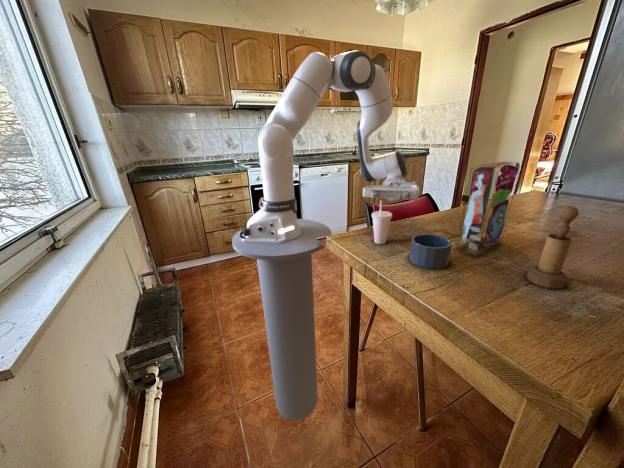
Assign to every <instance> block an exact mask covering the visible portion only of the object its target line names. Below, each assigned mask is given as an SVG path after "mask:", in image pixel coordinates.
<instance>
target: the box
mask: <svg viewBox="0 0 624 468" xmlns="http://www.w3.org/2000/svg"><path fill="white" fill-rule="evenodd" d="M496 168H497V169H498V171H496V170H497V169H496ZM520 168H521V164H520V162H518V161H514V164H513V162H511V161H497V162H494V163H493V162H491V163H489V164H487V163H485V164H483V165H482V164H481V165H478V166H475V167H473V168H472V167H471V169H470V171H472V170H473V171H472V173H470V175H469V178H471V180H469V182H468V185H467V189H466V194H465V200H464V203H466V202H467V206H466V204H464V205H463V207H464V208H463V209H465V207H466V212H465V210H462V211H463V212H462V213H465V214H462V216H461V218H463V219H461V221H460V227H459V230H458V233H461V234H458V235H457V238H458V240H457V242H456V244H457V246H456V247H457V249H458V250H461V253H462V254H465V255H468V256H472V257H476V258H477V257H480V256H481V254H482V255H484V254H485V253H488V252H490V251H491V250H493V249H494V248H497V244H498V245H500V242H497V241H499V240H502V239H503V237H504V234H505V232H506V231H505V230H506V228H507V227H506V226H507V222H508V218H509V216H507V215H509V213H510V212H509V211H510V208H511V205H512V202H513V199H514V195H515V191H516V187H517V181H518V179H517V178H518V176H519V171H520ZM495 172H496V173H495ZM499 172H500V173H501V174H499ZM495 176H496V177H495ZM494 177H495V179H494ZM493 181H494V183H493ZM515 181H516V182H515ZM492 186H495V187H493V188H492ZM491 191H492V192H491ZM491 193H492V194H491ZM468 194H469V195H468ZM511 194H512V197H511V201H510V200H509V199H508V197H509V196H510V195H511ZM490 196H491V197H490ZM467 199H468V201H467ZM509 202H510V203H509ZM488 207H489V208H488ZM490 210H491V214H489V213H487V212H489V211H490ZM507 212H508V213H507ZM488 215H489V217H488ZM487 217H488V218H487ZM487 220H488V221H487ZM485 221H487V222H485ZM462 224H463V225H462ZM461 228H462V229H461ZM485 228H486V229H485ZM461 230H462V231H461ZM484 232H485V234H484ZM479 234H480V235H479ZM478 235H479V236H478ZM501 235H502V236H501ZM500 237H501V238H500ZM460 238H461V239H460ZM460 240H461V241H462V243H464V244H463V245H462V246H460V243H459V241H460ZM467 240H470V241H472V240H474V241H475V242H468V244H467V243H466V242H467ZM483 241H484V242H483ZM476 242H480V243H479V245H477V244H476ZM482 242H483V247H488V248H487V249H485V250H484V252H483V251H481V250H479V249H481V246H482ZM465 244H467V245H465ZM467 246H468V248H469V249H470V250H472V251H478V252H477V255H476V256H475V255H474V254H472V253H470V252H469V251H467V252H465V250H464V249H463V248H466V247H467ZM478 246H479V247H478ZM462 247H463V248H462ZM479 253H480V255H479Z"/></svg>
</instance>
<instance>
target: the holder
mask: <svg viewBox="0 0 624 468" xmlns="http://www.w3.org/2000/svg"><path fill="white" fill-rule="evenodd" d="M452 247H453V244H452V241H451V240H450V239H448V238H447V237H445V236H442V235H437V234H432V233H431V234H430V233H420V234H415V235H414V236H412V237H411V243H410V250H409V261H410V262H411V263H412V264H413V265H415V266H417V267H419V268H423V269H428V270H440V269H445V268H446V267H448V266H449V262H450V258H451V252H452Z"/></svg>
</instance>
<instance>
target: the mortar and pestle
mask: <svg viewBox="0 0 624 468" xmlns="http://www.w3.org/2000/svg"><path fill="white" fill-rule="evenodd" d="M579 213H580V212H579V209H578V208H577V207H576V206H571V205H565V206H563V207H561V208H560V209H559V210H558V212H557V216H558V219H559V220H560V222H559V224H557V225H556V226H555V233H550V234H547V236H546V240H545V244H544V246H543V250H542V253H541V256H540V258H539V263H538V265H537V264H536V265H534V266H532V267H530V268H529V269H528V272H527V276H526V278H527V280H528V281H529V282H531V283H533V284H534V285H536V286H540V287H543V288H546V289H547V288H548V289H554V290H556V289H557V290H558V289H562V288H564V287H565V285H566V281H567V279H568V277H567V275H566V274H565V273H564V272H563V271H562V269H563V266H564V264H565V260H566V257H567V255H568V252H569V249H570V247H571V244H572V241H573V238H571V237H570V236H567V235H568V234H569V232H570V231H571V226H570V224H571V223H572V221H574V220H575V219H577V218H578V216H579Z"/></svg>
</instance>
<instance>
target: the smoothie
mask: <svg viewBox="0 0 624 468" xmlns="http://www.w3.org/2000/svg"><path fill="white" fill-rule="evenodd" d="M382 208H383V200H381V199H379V210H376V211H373V212H372V213H371V218H372V228H373V231H372V232H373V241H374V243H375V244H377V245H384V244H386V243H387V239H388V235H389V229H390V225H391V220H392V219H393V213H392V212H390V211H387V210H386V211H385V210H383V209H382Z"/></svg>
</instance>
